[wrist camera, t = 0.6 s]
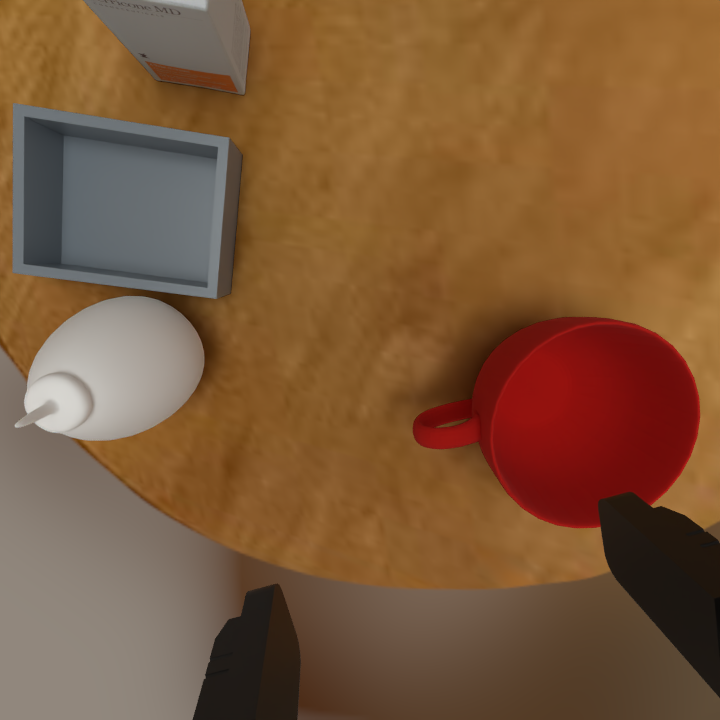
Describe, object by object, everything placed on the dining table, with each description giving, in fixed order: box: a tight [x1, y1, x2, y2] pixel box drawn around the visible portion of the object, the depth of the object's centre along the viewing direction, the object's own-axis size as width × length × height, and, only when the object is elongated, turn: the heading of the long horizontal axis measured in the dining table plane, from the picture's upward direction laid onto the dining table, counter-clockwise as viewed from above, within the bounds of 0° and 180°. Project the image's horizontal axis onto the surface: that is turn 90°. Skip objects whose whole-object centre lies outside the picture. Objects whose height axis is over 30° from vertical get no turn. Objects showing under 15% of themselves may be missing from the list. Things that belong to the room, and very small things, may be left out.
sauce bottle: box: [15, 296, 204, 440], centre depth 27 cm, size 8×8×18 cm
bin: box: [13, 103, 243, 299], centre depth 32 cm, size 10×12×5 cm
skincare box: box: [83, 0, 250, 95], centre depth 27 cm, size 6×4×12 cm
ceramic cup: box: [413, 317, 700, 528], centre depth 34 cm, size 13×17×10 cm
